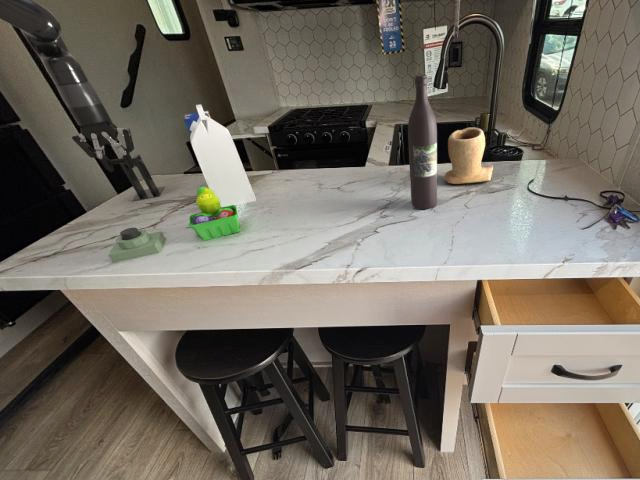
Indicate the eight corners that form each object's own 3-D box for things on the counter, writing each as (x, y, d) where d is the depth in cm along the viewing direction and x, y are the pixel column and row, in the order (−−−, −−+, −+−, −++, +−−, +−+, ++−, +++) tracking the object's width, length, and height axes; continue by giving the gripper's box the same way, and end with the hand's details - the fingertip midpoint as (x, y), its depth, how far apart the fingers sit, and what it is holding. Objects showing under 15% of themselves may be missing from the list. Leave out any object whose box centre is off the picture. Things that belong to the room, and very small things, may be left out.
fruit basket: (198, 244, 84) (175, 201, 77) (198, 230, 90) (177, 189, 83) (245, 232, 87) (228, 190, 80) (242, 220, 94) (226, 179, 87)
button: (122, 242, 80) (117, 235, 79) (126, 235, 83) (122, 229, 82) (138, 238, 81) (134, 232, 80) (142, 232, 83) (138, 226, 82)
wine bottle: (412, 210, 91) (405, 78, 72) (410, 200, 96) (404, 75, 77) (438, 208, 91) (438, 76, 72) (435, 198, 96) (435, 72, 77)
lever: (127, 164, 98) (123, 155, 97) (109, 166, 97) (105, 158, 96) (143, 166, 109) (139, 158, 108) (127, 168, 108) (124, 160, 107)
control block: (113, 262, 80) (102, 248, 77) (122, 247, 86) (113, 233, 83) (159, 253, 82) (150, 238, 80) (165, 238, 88) (157, 224, 86)
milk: (256, 200, 104) (223, 105, 88) (217, 210, 101) (174, 112, 84) (251, 189, 113) (219, 100, 96) (215, 197, 109) (175, 106, 93)
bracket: (160, 199, 111) (139, 159, 103) (133, 204, 109) (109, 164, 101) (166, 189, 119) (146, 151, 110) (141, 194, 117) (119, 155, 109)
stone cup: (445, 190, 100) (446, 135, 91) (443, 176, 110) (444, 125, 100) (497, 187, 99) (503, 132, 90) (491, 173, 108) (496, 122, 99)
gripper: (118, 98, 93) (151, 162, 104) (58, 105, 90) (99, 170, 101) (110, 101, 88) (146, 168, 98) (46, 109, 84) (90, 177, 95)
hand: (122, 169), depth 99 cm, fingers closed on lever, 4 cm apart
